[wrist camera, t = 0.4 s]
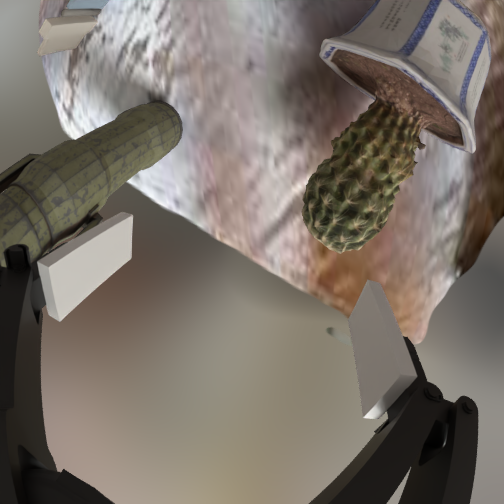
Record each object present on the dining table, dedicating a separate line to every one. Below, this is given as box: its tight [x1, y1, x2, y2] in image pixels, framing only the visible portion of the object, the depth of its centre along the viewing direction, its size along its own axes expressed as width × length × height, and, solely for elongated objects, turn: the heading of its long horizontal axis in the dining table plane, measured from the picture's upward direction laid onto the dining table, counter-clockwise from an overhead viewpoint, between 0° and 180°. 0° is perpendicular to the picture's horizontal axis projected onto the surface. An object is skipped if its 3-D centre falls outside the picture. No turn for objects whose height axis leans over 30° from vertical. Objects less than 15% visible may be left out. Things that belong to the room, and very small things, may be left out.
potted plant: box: [302, 0, 491, 253], centre depth 22 cm, size 18×18×30 cm
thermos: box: [0, 101, 183, 267], centre depth 24 cm, size 9×12×35 cm
